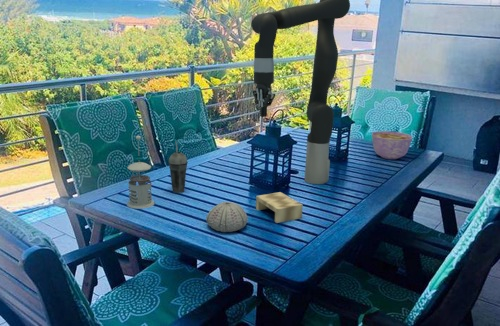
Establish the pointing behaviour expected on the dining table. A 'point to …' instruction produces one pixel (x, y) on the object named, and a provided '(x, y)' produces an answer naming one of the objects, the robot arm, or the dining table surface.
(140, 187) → the french press
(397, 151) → the bowl of food
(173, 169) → the beverage cup
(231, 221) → the sea urchin shell
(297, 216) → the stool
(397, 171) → the dining table surface
